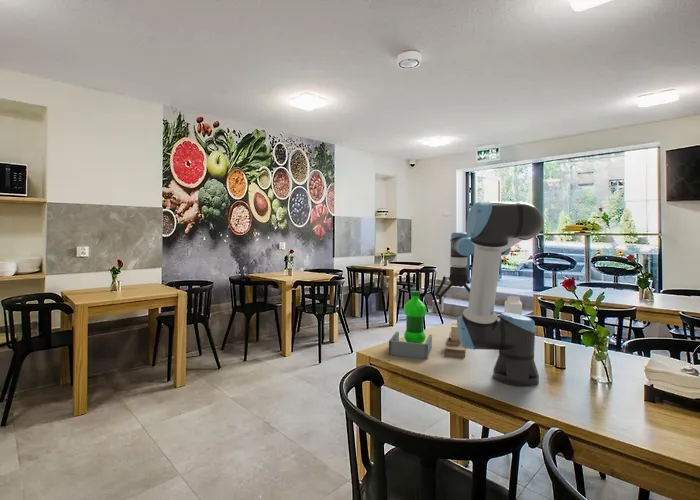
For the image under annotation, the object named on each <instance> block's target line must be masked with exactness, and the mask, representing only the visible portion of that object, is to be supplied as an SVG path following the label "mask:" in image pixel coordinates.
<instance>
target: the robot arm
mask: <svg viewBox="0 0 700 500" xmlns="http://www.w3.org/2000/svg"><path fill="white" fill-rule="evenodd" d="M465 226H466V228H465V229H466V230H465V232H452V233H450V234H451V235H450V259H449V260H450V261H449V265H450V266H449V276H446V275H443V276H442V280H441V283H440V285H439V286H438V288H437V289H436V292H435V294H434V295H435V297H436V296H437V297H438V303H439V305H441V308H440V311H441V312H444V301H445V299H444V297H445V296H444V295H445V294H446V293H448V291H449V290H450V289H451V288H452V287H454V288H457V287H459V288H462V287H464V289H465V290H466V291H467V292H468V293H469V299H468V306H467V307H466V308H464V310H463V311H462V315H459V316H457V318H456V324H457V329H458V335H459V340H460V343H461V345H462V347H464V348H466V350H474V351H476V350H480V351H481V350H487V351H488V350H490V351H491V350H493V351H498V356H497V360H496V362H495V363H494V366H493V377H494V379H496V380H497V381H499V382H501V383H504V384H506V385H510V386H514V387H515V386H516V387H533V386H534V387H535V386H537V385H538V384H539V383H540V375H539V372H538V368H537V365H536V361H535V345H536V344H535V343H536V341H535V340H536V324H535V323H536V322H535V320H533V319H532V318H531V317H528V316H527V315H526V316H525V315H523V314H522V315H519V314H514V313H507V312H500V314H499V316H498V315H497V313H496V312H495V311H494V310H495V306H496V305H495V303H496V296H497V288H498V281H499V274H500V267H501V259H502V256H508V255H509V254H510V252H511V249H512V247H514V246H516V245H517V244H519V243H520V242H523V241H529V240H532V239H533V238H535V237H536V236H537V235H539V234H540V233H541V231H542V230H543V227H544V216H543V214H542V212H541V211H540V210H539V209H538V208H537V207H536V206H534V205H533V204H530V203H528V202H523V201H482V202H481V201H478V202H476V203H473V205H472V206H471V207H470V209H469V212H468V215H467V219H466V224H465ZM469 256H473V259H472V260H473V261H472V269H471V276H470V277H469V276H468V267H467V266H468V257H469ZM448 280H449V284H448V285H447V286H446V287H445V289H443V290H442V288H443V286H444V284H445V283H446V282H447V281H448ZM468 281H469V283H470V286H469V285H468V284H467V283H468ZM441 290H442V291H441ZM440 291H441V293H440Z"/></svg>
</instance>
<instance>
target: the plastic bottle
mask: <svg viewBox="0 0 700 500" xmlns="http://www.w3.org/2000/svg"><path fill="white" fill-rule="evenodd" d="M410 296H411V299H409V300H408V301H407V302H406V303H404V306H403V312H404V314H405V315H406V319H405V320H406V321H405V322H406V325H405V326H406V329H405V331H404V333H403V337H404V340H405V342H412V343H421V344H424V342H425V340H426V334H425V332H424V322H425V321H424V320H425V319H424V318H425V317H424V316H425V315H426V314H427V311H428V310H427V306H426V304H424V302H423V301H421V300H420V296H421V291H420V290H411V291H410Z"/></svg>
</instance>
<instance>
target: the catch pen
mask: <svg viewBox="0 0 700 500" xmlns="http://www.w3.org/2000/svg"><path fill="white" fill-rule="evenodd" d="M432 347H433V335H432V334H429V335H428V336H427V339H426V341H425V343H422V344H421V343H412V342H407V341H402V340H400V332H399V331H395V332H394V334H393V335H392V337H391V338H390V339H389V340H388V355H389V356H395V355H396V356H397V357H398V356H399V357H406V358H412V359H413V358H415V359H421V360H422V359H423V360H428V358H429V356H430V354H431V352H432V351H431V350H432Z"/></svg>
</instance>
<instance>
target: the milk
mask: <svg viewBox="0 0 700 500" xmlns="http://www.w3.org/2000/svg"><path fill="white" fill-rule="evenodd" d="M503 309H504V312H507V313H514V314H519V315H523V303H522V301H521V298H520V296H519V295H517V296H514V295H513V296H511V295H509V296H507V297H506V300H505V301H504V308H503ZM504 312H503V313H504Z"/></svg>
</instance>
